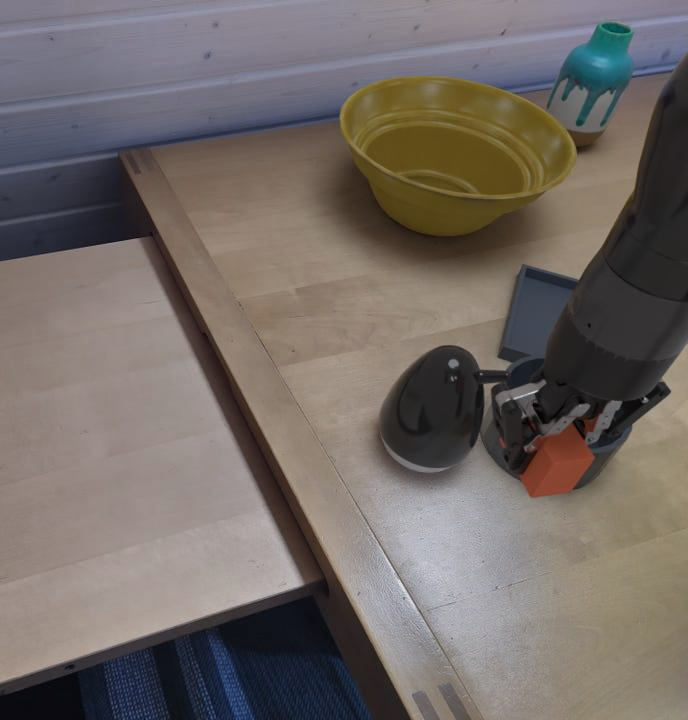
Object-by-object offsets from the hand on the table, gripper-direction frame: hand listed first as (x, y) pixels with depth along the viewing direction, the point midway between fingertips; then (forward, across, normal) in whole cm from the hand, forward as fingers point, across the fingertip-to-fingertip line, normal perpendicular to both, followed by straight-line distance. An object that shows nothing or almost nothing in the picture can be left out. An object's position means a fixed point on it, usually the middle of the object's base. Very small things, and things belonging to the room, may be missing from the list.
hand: (535, 462), depth 60 cm
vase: (+14, +47, +70) cm, 85 cm away
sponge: (0, 0, 0) cm, 0 cm away
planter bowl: (+14, +16, +54) cm, 58 cm away
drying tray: (+14, +23, +27) cm, 38 cm away
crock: (+14, +12, +11) cm, 22 cm away
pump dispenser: (+14, -2, +12) cm, 19 cm away
